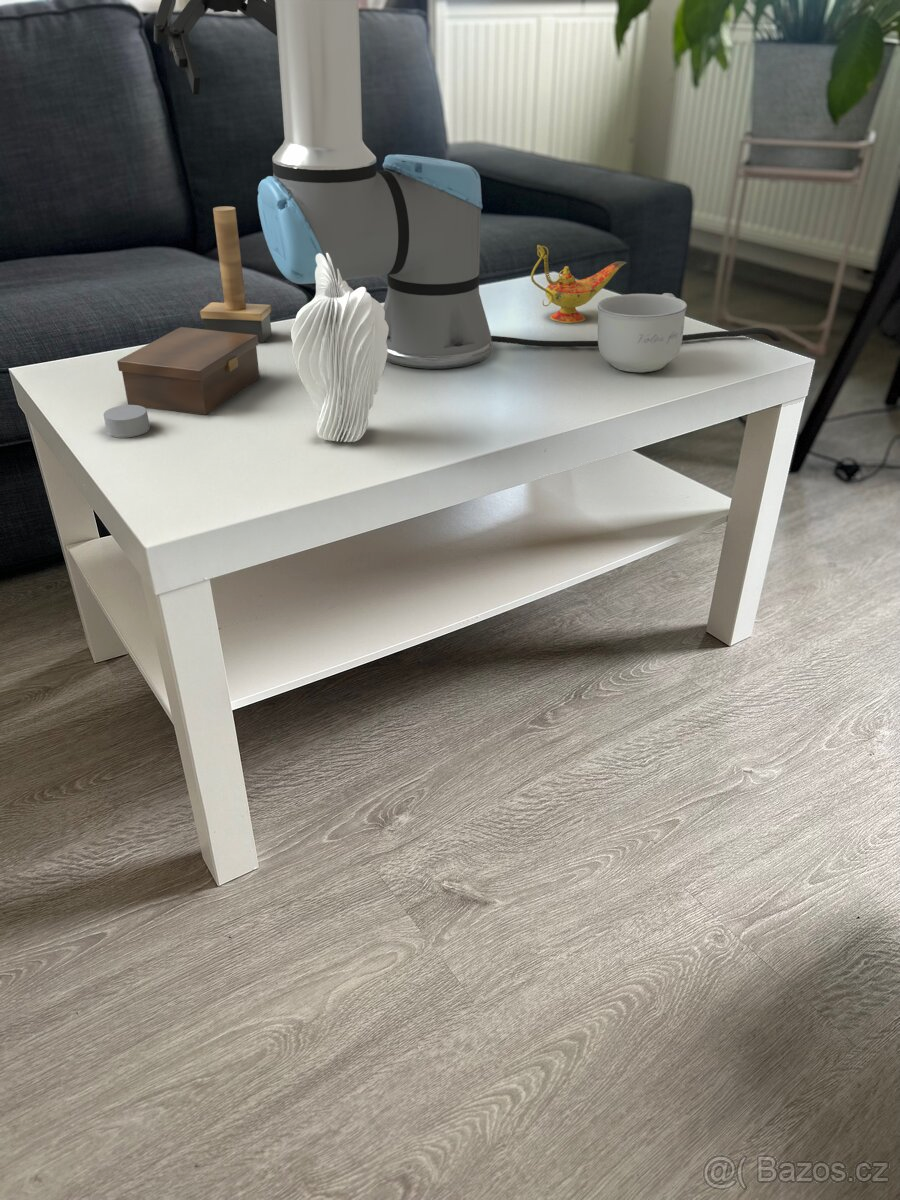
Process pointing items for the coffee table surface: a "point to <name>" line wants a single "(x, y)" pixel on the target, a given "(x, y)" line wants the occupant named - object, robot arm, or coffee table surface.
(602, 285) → the magic lamp
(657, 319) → the teacup
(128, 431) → the felt pad
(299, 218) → the robot arm
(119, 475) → the coffee table surface
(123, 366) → the walnut box
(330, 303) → the shell sculpture
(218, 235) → the brush
